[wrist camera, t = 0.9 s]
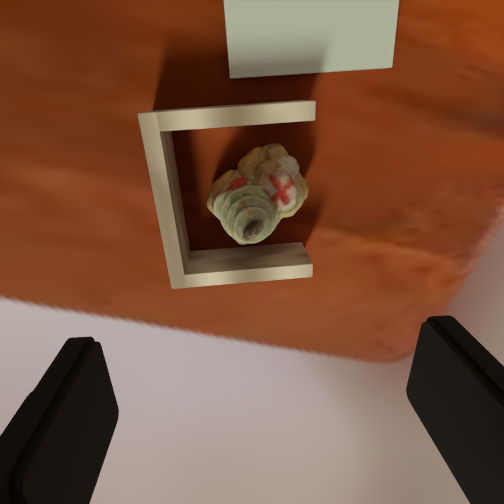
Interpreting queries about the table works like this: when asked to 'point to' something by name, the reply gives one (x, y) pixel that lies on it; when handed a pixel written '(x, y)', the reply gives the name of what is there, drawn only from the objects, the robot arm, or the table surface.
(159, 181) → the shelf bay
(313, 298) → the table surface
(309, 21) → the tile mat
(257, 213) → the ornament
